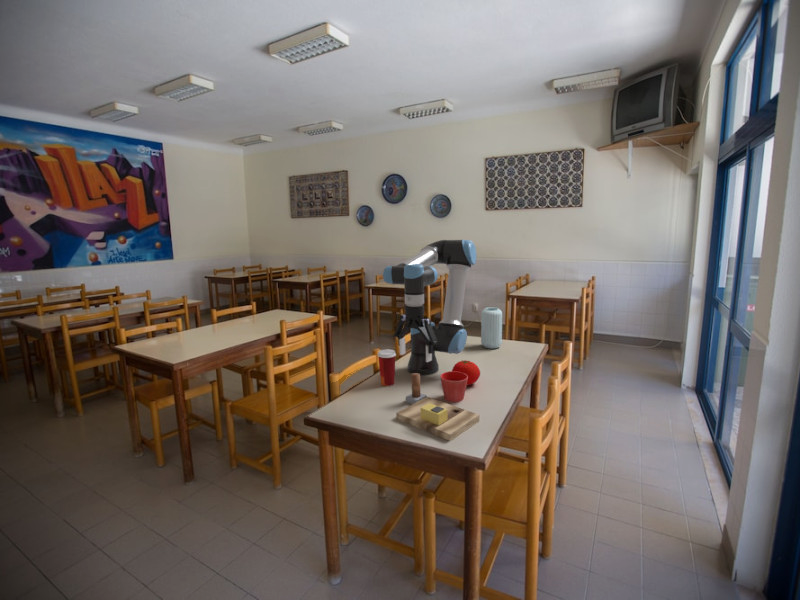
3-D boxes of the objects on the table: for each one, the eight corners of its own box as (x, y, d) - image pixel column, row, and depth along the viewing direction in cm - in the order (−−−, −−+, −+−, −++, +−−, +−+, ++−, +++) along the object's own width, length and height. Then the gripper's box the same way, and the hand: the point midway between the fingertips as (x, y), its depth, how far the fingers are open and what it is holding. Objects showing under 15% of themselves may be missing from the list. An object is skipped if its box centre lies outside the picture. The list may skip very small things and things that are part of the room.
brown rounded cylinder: (410, 401, 163) (409, 374, 161) (415, 398, 165) (415, 372, 163) (416, 403, 160) (416, 376, 158) (422, 400, 163) (421, 374, 161)
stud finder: (420, 418, 143) (420, 407, 143) (429, 413, 147) (429, 402, 146) (438, 425, 138) (438, 413, 137) (447, 420, 142) (447, 408, 141)
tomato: (459, 376, 188) (459, 355, 186) (483, 382, 181) (484, 359, 179) (447, 385, 179) (447, 362, 177) (472, 390, 172) (473, 367, 170)
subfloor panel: (396, 419, 149) (396, 412, 148) (427, 402, 162) (427, 396, 161) (450, 441, 133) (450, 434, 132) (479, 420, 146) (479, 414, 145)
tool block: (405, 401, 163) (405, 396, 162) (415, 397, 167) (415, 391, 166) (417, 406, 159) (417, 400, 158) (426, 401, 163) (426, 395, 162)
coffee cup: (399, 381, 184) (399, 350, 181) (391, 388, 176) (390, 355, 174) (383, 379, 187) (382, 348, 184) (375, 385, 180) (373, 353, 177)
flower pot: (461, 406, 157) (461, 382, 156) (436, 400, 163) (435, 377, 161) (471, 396, 166) (471, 373, 164) (447, 391, 172) (447, 369, 170)
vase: (481, 349, 227) (481, 310, 223) (480, 343, 238) (481, 306, 234) (502, 349, 225) (503, 310, 221) (500, 343, 237) (501, 306, 233)
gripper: (384, 302, 161) (386, 353, 165) (434, 310, 144) (434, 366, 148) (397, 299, 166) (398, 349, 170) (446, 306, 150) (446, 361, 154)
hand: (415, 357), depth 159 cm, fingers open, 13 cm apart
